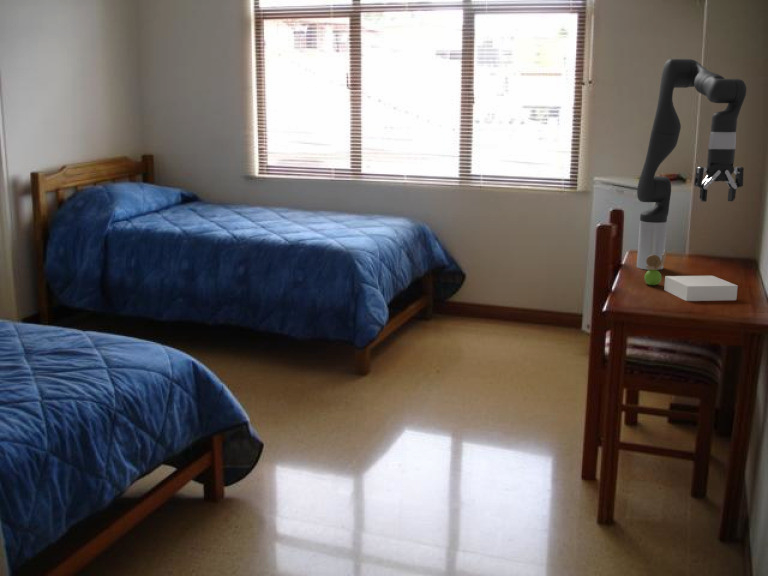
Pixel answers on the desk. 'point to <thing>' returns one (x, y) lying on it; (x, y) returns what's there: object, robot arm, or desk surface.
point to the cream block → (700, 288)
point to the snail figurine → (654, 269)
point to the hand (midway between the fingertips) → (716, 201)
